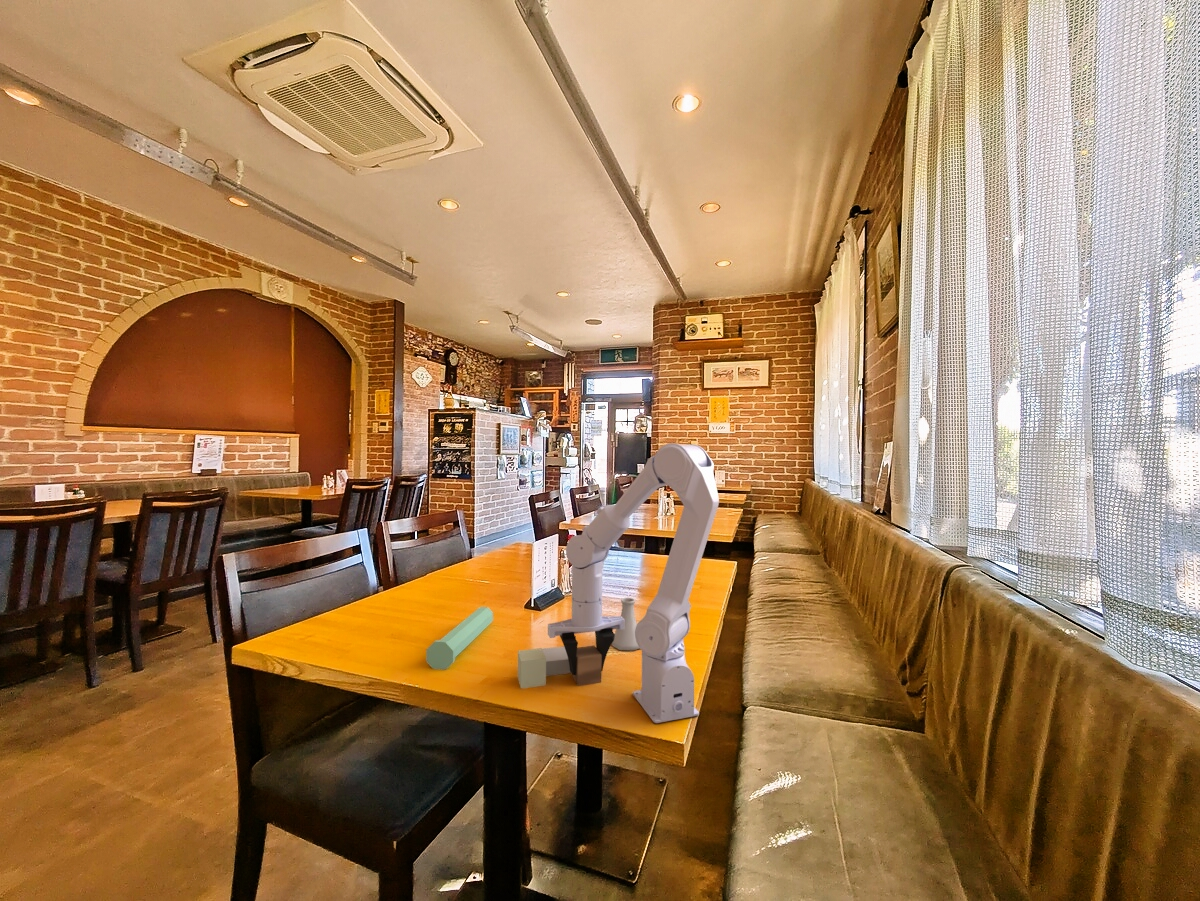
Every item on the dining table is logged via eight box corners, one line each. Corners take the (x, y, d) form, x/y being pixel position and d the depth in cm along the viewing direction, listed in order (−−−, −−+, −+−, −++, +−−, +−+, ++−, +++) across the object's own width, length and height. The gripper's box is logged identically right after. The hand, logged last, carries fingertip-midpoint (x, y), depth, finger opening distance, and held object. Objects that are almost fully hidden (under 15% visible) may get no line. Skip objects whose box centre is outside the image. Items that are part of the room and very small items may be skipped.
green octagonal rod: (480, 598, 115) (432, 635, 91) (501, 608, 115) (458, 649, 90) (471, 620, 116) (420, 663, 91) (492, 630, 115) (447, 676, 90)
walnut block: (601, 682, 86) (601, 655, 86) (577, 685, 84) (578, 658, 84) (594, 671, 90) (594, 645, 90) (571, 674, 89) (571, 648, 89)
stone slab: (576, 673, 90) (576, 658, 90) (545, 677, 88) (545, 661, 88) (570, 660, 95) (570, 645, 95) (540, 663, 94) (541, 648, 94)
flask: (616, 653, 98) (617, 606, 98) (607, 640, 105) (607, 595, 105) (648, 649, 100) (649, 603, 100) (637, 637, 107) (637, 593, 107)
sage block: (545, 685, 85) (546, 657, 85) (521, 689, 83) (521, 661, 83) (541, 674, 89) (541, 647, 89) (517, 677, 87) (517, 650, 87)
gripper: (616, 589, 93) (615, 656, 93) (544, 595, 89) (544, 666, 89) (628, 599, 87) (628, 672, 86) (552, 606, 82) (551, 683, 82)
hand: (586, 670), depth 87 cm, fingers closed on walnut block, 4 cm apart
